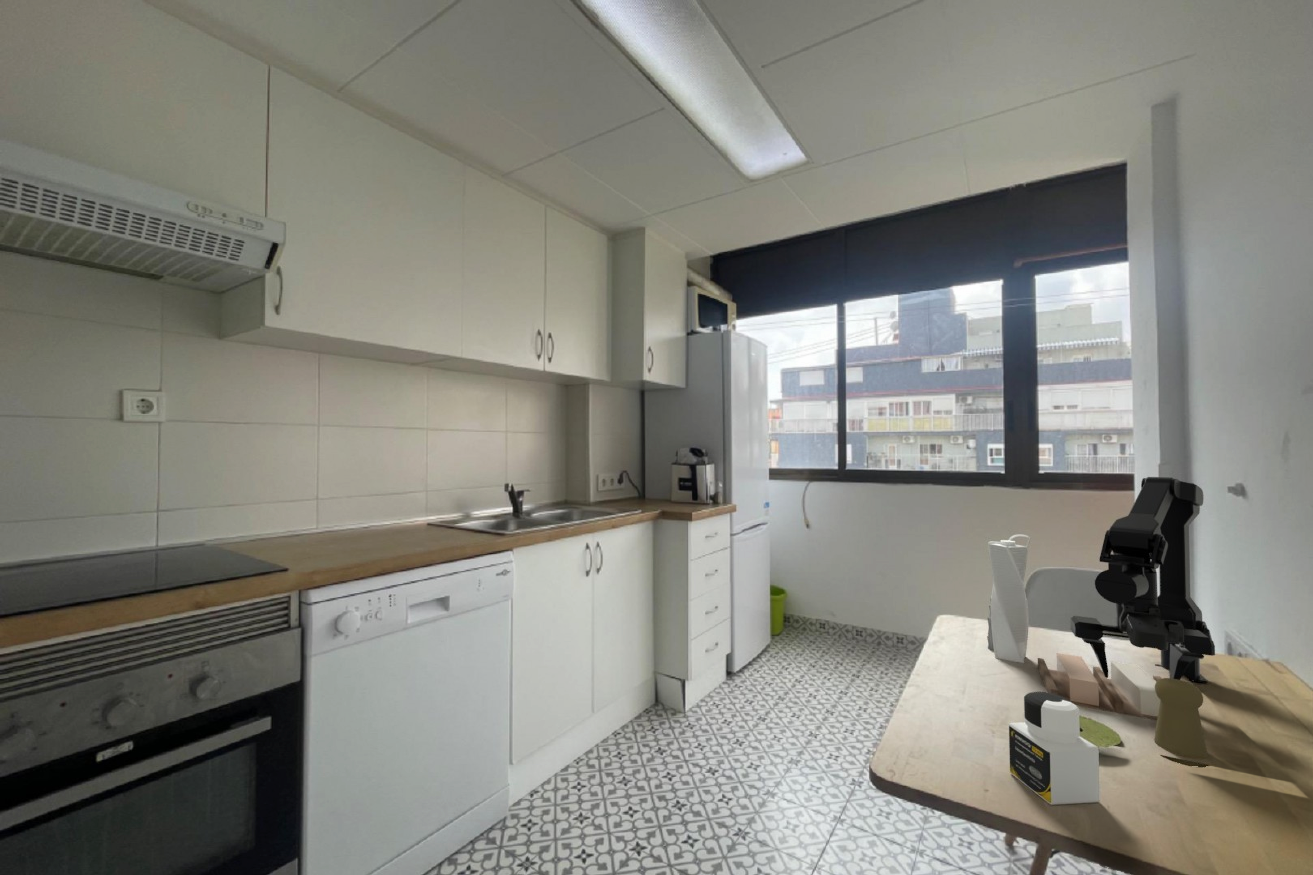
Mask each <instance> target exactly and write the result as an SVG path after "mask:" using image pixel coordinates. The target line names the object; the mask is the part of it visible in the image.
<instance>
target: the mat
mask: <svg viewBox="0 0 1313 875" xmlns="http://www.w3.org/2000/svg"><path fill="white" fill-rule="evenodd" d="M1079 725H1080V737H1082V738H1083V739H1085V740H1087V741H1088V742H1090V743H1092V744H1093V745H1095V746H1097V747H1098V748H1099V747H1101V748H1104V747H1105V748H1109V747H1114V746H1118V745H1119V744H1121V742H1122V737H1121V736H1120V735H1119V733H1118V732H1117V731H1115V730H1114V729H1112V728H1111V727H1109V726H1108V725H1106V724H1104V723H1101V722H1100V721H1098V720H1097V721H1096V720H1095V719H1092V718H1088V717H1086V716H1084V715H1083V716H1082V715H1080V714H1079Z"/></svg>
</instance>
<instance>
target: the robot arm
mask: <svg viewBox="0 0 1313 875" xmlns="http://www.w3.org/2000/svg"><path fill="white" fill-rule="evenodd" d="M1140 487H1141V490H1140V491H1139V492H1138V495H1137V497H1136V499H1135V501H1134V503H1133V505H1132V507H1131V509H1130V511H1129V513H1128V514H1127V515H1126V516H1123V517H1120V518H1118V519H1116V520H1114V522H1113V523H1112V525H1111V526H1110V527H1109V529H1107V530H1106V531H1105V534H1104V538H1103V541H1102V542H1103V543H1102V546H1101V550H1100V556H1099V562H1100V563H1106V564H1108V566H1107V567H1108V569H1105V570H1103V571H1101V572H1099V573H1098V574H1097V576H1096V578H1095V579H1094V586H1095V587H1094V588H1095V589H1096V592H1097V594H1099V596H1101V597H1102V598H1103V599H1104V600H1106V601H1107V602H1110V603H1113V604H1115V624H1116V625H1112V624H1111V625H1110V624H1105V623H1101V622H1100V621H1099V620H1098V619H1097V618H1096V617H1088V616H1079V615H1072V617H1070V619H1069V620H1070V621H1069V622H1070V623H1069V629H1070V631H1071V632H1072V633H1073V635H1074V637H1076V638H1078V639H1082V641H1083V642H1084V643H1086V644H1089V645H1090V646H1091V648H1092V651H1093V652H1094V655H1095V657H1096V659H1097V662H1098V665H1099V666H1100V667H1099V668H1100V669H1101V670H1102V672H1103V674H1104V676H1105V677H1106V678H1107V679H1109V667H1108V661H1107V654H1106V643H1105V641H1104V640H1103V639H1102V638H1103V637H1104V636H1109V637H1118V638H1123V639H1124V638H1125V639H1129V643H1130V644H1131V645H1132V646H1134V647H1136V648H1140V649H1141V648H1149V649H1156V650H1158V651H1160V664H1159V663H1157V664H1156V663H1155V664H1154V666H1155V667H1160V668H1162V669H1163V670H1164V669H1165V670H1166V671H1169V678H1172V679H1178V680H1182V678H1183V677H1185V678H1186V679H1187V680H1188V681H1191V682H1197V683H1202V684H1203V683H1204V684H1208V683H1209V681H1208V679H1207V678H1205V677H1204V676H1203V675H1202V674H1201V665H1200V663H1201V662H1200V660H1203V659H1204V658H1205V656H1211V657H1213V656H1215V655H1216V649H1215V648H1216V646H1215V642H1214V641H1213V639H1212V635H1211V631H1210V629H1209V628H1208V627H1207V626H1208V625H1207V623H1206V622H1205V621H1203V612H1202V609H1201V608H1200V607H1199V606H1198V605H1197V604H1196V602H1195V601H1194V599H1193V598H1192V597H1191V564H1190V561H1191V560H1190V559H1191V558H1190V525H1191V524H1192V522H1193V521H1195V519H1196V518H1197V516H1199V514H1200V510H1201V508H1200V507H1202V506H1203V504H1204V491H1203V489H1202V488H1201V487H1200V486H1198V484H1196V483H1194V482H1186V481H1183V480H1182V481H1181V480H1179V479H1178V478H1173V477H1171V476H1170V477H1169V476H1168V477H1166V476H1165V477H1163V476H1161V477H1160V476H1147V477H1143V478H1142V479H1141V485H1140ZM1157 569H1159V595H1158V573H1157Z"/></svg>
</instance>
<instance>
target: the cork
mask: <svg viewBox="0 0 1313 875" xmlns="http://www.w3.org/2000/svg"><path fill="white" fill-rule="evenodd" d="M1161 678H1162V677H1161ZM1155 691H1156V694H1157V696H1158V698H1159V699H1160V705H1159V711H1158V718H1157V720H1156V725H1155V726H1156V727H1155V732H1154V740H1153V741H1154V743H1155V745H1157V746H1158V747H1159V748H1161V749H1163V750H1165V751H1166V752H1169V753H1173V754H1174V755H1177V756H1181V757H1185V758H1191V759H1198V760H1199V759H1200V760H1201V759H1207V757H1208V756H1209V755H1208V750H1207V749H1208V748H1207V744H1206V741H1205V740H1206V739H1205V736H1204V732H1203V731H1204V730H1203V725H1202V721H1201V716H1200V712H1199V711H1200V710H1199V708H1201V707H1202V706H1203V703H1204V696H1203V693H1202V691H1201V690H1200V689H1199V687H1198V686H1196V685H1195V684H1193V683H1191V682H1188V681H1185V680H1182V679H1180V680H1178V679H1172V678H1170V677H1163V678H1162V679H1159V680H1158V681H1157V682H1156V684H1155ZM1159 755H1160V757H1163V758H1164V759H1166V760H1168V761H1171V762H1174V763H1176V762H1177V763H1176V764H1179V763H1180V765H1184V766H1187V767H1192V766H1198V767H1197V768H1203V767H1204V768H1207V767H1206V766H1208V767H1209V766H1210V764H1207V763H1201V762H1197V761H1192V760H1188V759H1182V758H1178V757H1173V756H1169V755H1168V756H1167V755H1163V754H1159Z"/></svg>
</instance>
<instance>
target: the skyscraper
mask: <svg viewBox="0 0 1313 875" xmlns="http://www.w3.org/2000/svg"><path fill="white" fill-rule="evenodd" d="M1017 537H1022V538H1027V542H1026V545H1020V544H1016V541H1015V540H1013V539H1014V538H1017ZM1030 542H1031V536H1030V535H1027V534H1014V535H1011V536H1010V537H1009V538H1008V539H1007V540H1006V539H1001V540H1000V541H995V540H994V541H993V540H991V541H988V543H987V547H988V554H989V563H990V571H991V575H992V576H991V577H992V581H993V582H992V589H991V595H990V596H991V597H990V598H989V599H990V600H989V601H990V602H989V603H990V605H989V606H988V608H989V614H988V615H989V616H987V623H988V624H987V625H988V629H987V637H986V638H987V643H988V645H987V649H988V650H989V651H993V653H994V658H995V659H999V660H1005V661H1010V662H1016V663H1021V664H1025V662H1024V661H1025V658H1026V656H1027V648H1028V640H1029V639H1028V638H1029V606H1028V599H1027V594H1026V588H1025V586H1024V585H1025V584H1024V581H1025V575H1026V568H1027V560H1028V549H1029V545H1030Z"/></svg>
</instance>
